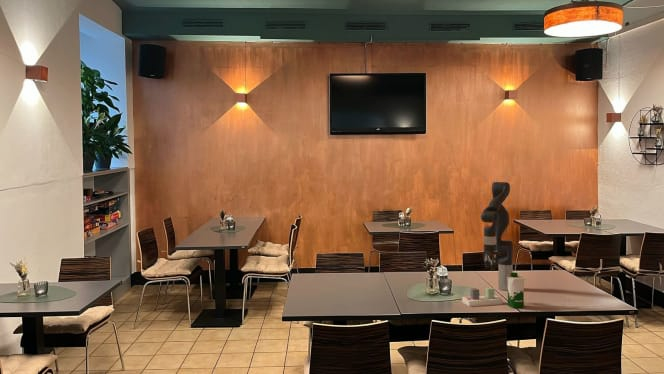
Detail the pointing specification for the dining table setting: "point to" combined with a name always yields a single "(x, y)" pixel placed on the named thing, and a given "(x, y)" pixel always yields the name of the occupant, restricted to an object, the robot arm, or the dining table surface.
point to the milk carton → (515, 290)
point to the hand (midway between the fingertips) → (490, 269)
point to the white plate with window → (480, 299)
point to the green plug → (490, 293)
